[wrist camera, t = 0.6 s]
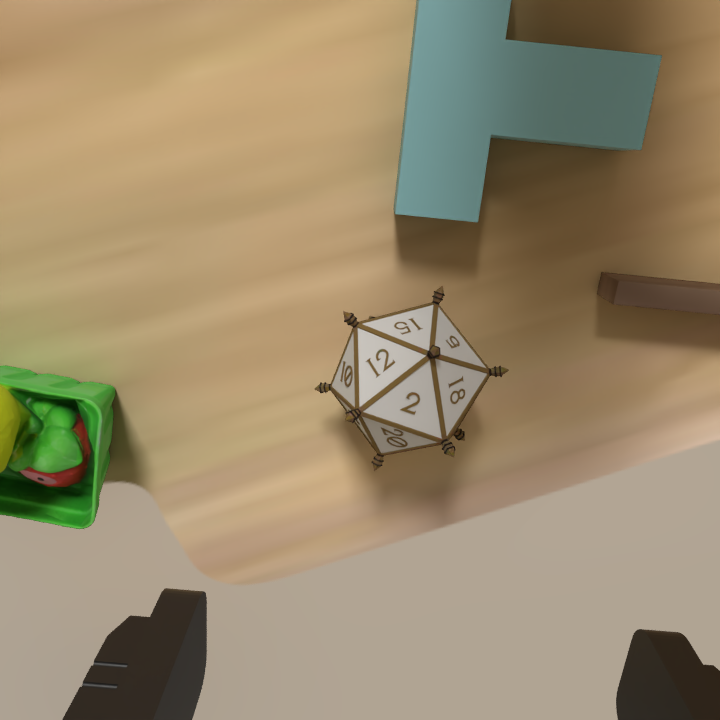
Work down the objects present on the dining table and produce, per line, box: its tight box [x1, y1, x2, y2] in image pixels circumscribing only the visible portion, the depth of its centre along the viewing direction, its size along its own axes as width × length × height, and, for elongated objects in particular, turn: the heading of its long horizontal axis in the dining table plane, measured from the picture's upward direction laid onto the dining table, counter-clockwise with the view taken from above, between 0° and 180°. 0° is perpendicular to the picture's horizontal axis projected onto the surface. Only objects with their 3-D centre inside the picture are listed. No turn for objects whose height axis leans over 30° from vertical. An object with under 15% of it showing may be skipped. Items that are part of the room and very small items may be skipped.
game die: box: [315, 287, 508, 471], centre depth 32 cm, size 9×8×10 cm
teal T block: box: [394, 0, 662, 222], centre depth 30 cm, size 12×11×3 cm
